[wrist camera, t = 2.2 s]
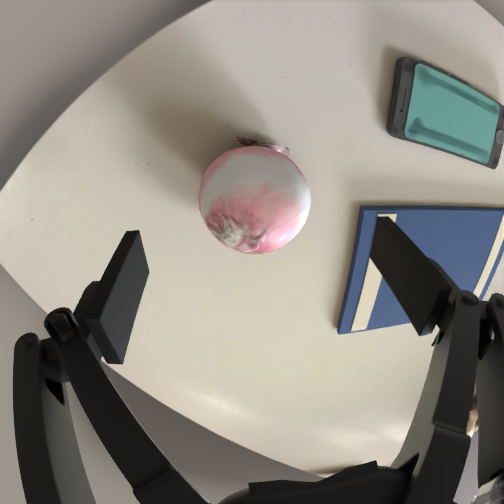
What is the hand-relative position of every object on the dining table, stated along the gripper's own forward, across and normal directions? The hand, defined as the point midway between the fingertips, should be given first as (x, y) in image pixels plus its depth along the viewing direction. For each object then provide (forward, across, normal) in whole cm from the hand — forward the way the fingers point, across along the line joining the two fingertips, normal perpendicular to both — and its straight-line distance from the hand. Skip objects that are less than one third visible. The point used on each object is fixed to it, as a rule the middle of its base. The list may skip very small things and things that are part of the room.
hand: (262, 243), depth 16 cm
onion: (+9, 0, 0) cm, 9 cm away
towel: (+9, +22, -10) cm, 26 cm away
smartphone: (+9, +19, +7) cm, 22 cm away
